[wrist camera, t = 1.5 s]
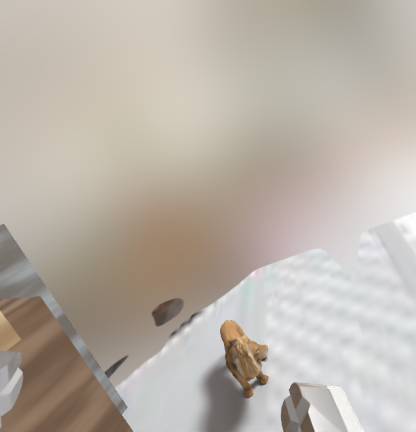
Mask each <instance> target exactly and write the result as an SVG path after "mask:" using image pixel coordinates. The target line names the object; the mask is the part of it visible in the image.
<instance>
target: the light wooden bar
mask: <svg viewBox="0 0 416 432" xmlns="http://www.w3.org/2000/svg"><path fill="white" fill-rule="evenodd" d="M20 340H21V338H20V337H19V336H18V334H17V333H16V332H15V330H14V329H13V327H12V326H11V325H10V323H9V322H8V321H7V319H6V318H5V317H4V315H3V314H2V312H1V311H0V350H3V351H7V350H8V349H10V348H11V347H12V346H14V345H15V344H16V343H18V342H19V341H20Z"/></svg>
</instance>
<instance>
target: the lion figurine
mask: <svg viewBox="0 0 416 432" xmlns="http://www.w3.org/2000/svg"><path fill="white" fill-rule="evenodd" d="M220 332H221V333H220V334H221V338H222V340H223V342H224V347H225V352H226V354H225V359H226V364H227V367H228V369H229V370H230V372H231V373H232V374H233V376H234V377H235V378H236V379H237V380H238V382H239V383H240V384H241V385H242V386H243V388H244V390H245V392H244V394H245V396H246V397H251V396H252V395H253V390H252V387H251V386H250V385H249V383H248V382H247V381H250V380H251V379H253V378H255V377H256V378H257V380H258V381H260V382H261V383H262V384H265V383H267V381H268V376H267V375H264V374H263V373H262V371H261V367H262V364H261V362H262V361H264V362H266V361H267V360H268V359H267V354H268V346H267V345H259V344H257V343H256V342H255V341H251V340H250V339H249V338H248V337H247V335H246V334H245V335H244V333H243V331H242V329H241V328H240V326H239V325H238V324H237V323H236V322H235V321H232V320H231V321H228V320H227V321H225V322H224V324H222V326H221V329H220Z"/></svg>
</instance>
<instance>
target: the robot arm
mask: <svg viewBox="0 0 416 432" xmlns="http://www.w3.org/2000/svg"><path fill="white" fill-rule="evenodd" d="M21 362H22V355H21V353H18V352H11V351H3V350H0V428H1V427H2V424H1V416H3V415H4V414H5V413H7V412H8V411H9V410H11V409H12V407H13V405H14V403H15V402H16V400H17V398H18V395H19V392H20V390H21V387H22V382H23V372H22V371H21V370H20V369H19V368H18V367H19V366H20V364H21ZM289 391H290V396H289V397H287V398H286V399H285V400H284V402H283V405H282V409H281V421H282V427H283V431H284V432H364V431H363V429H362V427H361V425H360V423H359V421H358V419H357V417H356V415H355V413H354V411H353V409H352V407H351V404H350V402H349V400H348V398H347V396H346V394H345V392H344V391H343V390H342V389H341V388H340V387H334V386H324V385H318V384H308V383H297V382H295V383H293V384H292V385H291V387H290V389H289Z"/></svg>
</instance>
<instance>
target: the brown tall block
mask: <svg viewBox="0 0 416 432" xmlns="http://www.w3.org/2000/svg"><path fill="white" fill-rule="evenodd" d="M0 311H1V312H2V314H3V315H4V317H5V318H6V319H7V321H8V322H9V323H10V325H11V326H12V327H13V329H14V330H15V332H16V333H17V334H18V336H19V337H20V338H21V340H20V341H19V342H18V343H16V344H15V345H14V346H12V347H11V348H10V349H8V350H7V351H11V352H18V353H21V355H22V362H21V364H20V366H19V367H18V368H19V369H20V370H21V371H22V372H23V382H22V387H21V390H20V392H19V395H18V398H17V400H16V402H15V403H14V405H13V407H12V409H11V410H9V411H8V412H7V413H5V414H4V415H3V416H1V424H2V427H1V428H0V432H133V431H132V429H131V428H130V426H129V425H128V423H127V422H126V420H125V419H124V418H123V416H122V415H121V414H122V413H123V412H124V410H125V409H126V408H127V406H126V404H125V403H124V401H123V400H122V398H121V397H120V395H119V394H118V392H117V391H116V389H115V388H114V386H113V385H112V384H111V382H110V381H109V379H108V378H107V376H106V375H105V373H104V372H103V370H102V369H101V367H100V366H99V364H98V363H97V361H96V360H95V358H94V357H93V355H92V354H91V352H90V351H89V349H88V348H87V346H86V345H85V343H84V342H83V340H82V339H81V338H80V336H79V335H78V333H77V332H76V330H75V329H74V327H73V326H72V324H71V323H70V321H69V320H68V318H67V317H66V315H65V314H64V312H63V311H62V309H61V308H60V306H59V305H58V303H57V302H56V300H55V299H54V298H53V296H52V295H51V293H50V292H49V290H48V289H47V287H46V286H45V284H44V283H43V281H42V280H41V278H40V277H39V276H38V274H37V272H36V271H35V269H34V268H33V266H32V265H31V263H30V262H29V261H28V259H27V257H26V256H25V255H24V253H23V252H22V250H21V249H20V247H19V246H18V244H17V243H16V241H15V240H14V238H13V237H12V235H11V234H10V232H9V231H8V229H7V228H6V226H5V225H4V224H2V225H0Z"/></svg>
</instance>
